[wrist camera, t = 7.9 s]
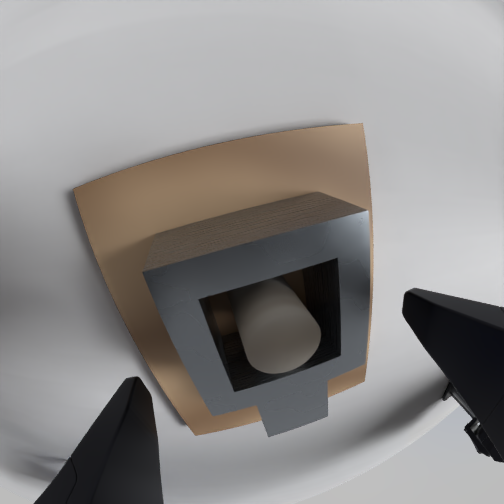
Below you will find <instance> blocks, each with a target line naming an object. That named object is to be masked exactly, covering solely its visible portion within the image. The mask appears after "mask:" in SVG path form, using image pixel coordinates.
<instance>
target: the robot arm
mask: <svg viewBox="0 0 504 504" xmlns="http://www.w3.org/2000/svg"><path fill="white" fill-rule="evenodd" d="M402 314H403V316H404V318H405V320H406V321H407V323H408V324H409V326H410V327H411V329H412V330H413V332H414V333H415V335H416V336H417V338H418V339H419V341H420V342H421V344H422V345H423V347H424V348H425V350H426V351H427V352H428V353H429V355H430V356H431V357H432V358H433V360H434V361H435V362H436V364H437V365H438V366H439V367H440V369H441V370H442V371H443V373H444V374H445V375H446V376H447V378H448V379H449V380H450V384H449V386H448V388H447V390H446V392H445V394H444V396H443V398H442V400H443V401H445V400H447V399H448V398H449V397H451V396H452V397H453V398H454V399H455V400H456V401H457V402H458V403H459V404H460V405H461V406H462V407H463V408H464V409H465V411H466V412H467V413H468V414H469V415H470V416H471V417H472V418H473V419H472V420H471V421H470V422H469V423H468V424H467V425H466V426H465V429H464V431H465V432H466V433H467V434H468V435H469V436H470V438H471V440H472V442H473V444H474V446H475V448H476V450H477V452H478V453H479V454H481V453H483V454H485V455H486V456H488V457H490V456H491V457H492V458H493V459H494V461H498V462H504V307H499V306H495V305H490V304H486V303H481V302H477V301H472V300H468V299H463V298H459V297H454V296H450V295H445V294H441V293H436V292H432V291H427V290H423V289H418V288H412V289H410V290H408V291H406V292H405V294H404V300H403V308H402ZM477 423H480V425H479V426H478V425H477ZM34 504H164V503H163V494H162V485H161V474H160V462H159V446H158V436H157V430H156V424H155V417H154V410H153V403H152V397H151V394H150V392H149V391H148V389H147V388H146V386H145V385H144V383H143V382H142V380H141V379H140V378H139V377H137V376H136V377H130V378H126V379H125V380H124V382H123V383H122V384H121V386H120V387H119V388H118V390H117V391H116V392H115V394H114V395H113V397H112V398H111V399H110V401H109V402H108V404H107V405H106V406H105V408H104V409H103V410H102V412H101V413H100V415H99V416H98V417H97V419H96V420H95V422H94V423H93V425H92V426H91V427H90V429H89V430H88V432H87V433H86V434H85V436H84V437H83V439H82V440H81V442H80V443H79V445H78V446H77V447H76V449H75V450H74V452H73V453H72V455H71V457H69V459H68V460H67V462H66V463H65V465H64V466H63V468H62V469H61V470H60V472H59V473H58V475H57V476H56V477H55V478H54V480H53V481H52V482H51V483H50V485H49V486H48V487H47V488H46V490H45V491H44V492H43V493H42V494H41V496H40V497H39V498H38V499H37V500H36V501H35V503H34Z"/></svg>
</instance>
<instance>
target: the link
mask: <svg viewBox="0 0 504 504" xmlns="http://www.w3.org/2000/svg"><path fill="white" fill-rule="evenodd" d="M300 269H302V272H303V280H304V288H305V296H306V304H307V310H308V311H309V313H310V314H311V315H312V317H313V318H314V320H315V321H316V322H317V324H318V325H319V328H320V331H321V339H320V343H319V346H318V348H317V350H316V351H315V353H314V354H313V355H312V356H311V357H310V359H308V360H307V361H306V362H305V363H304V364H302V365H301V366H299V367H297V368H295V369H293V370H290V371H287V372H283V373H276V374H271V373H265V372H261V371H259V370H257V369H255V368H254V367H253V366H252V365H251V364H250V363H249V361H248V359H247V356H246V353H245V349H244V346H243V343H242V340H241V337H240V334H239V331H237V332H234V333H230V334H227V335H223V336H221V334H220V331H219V328H218V325H217V322H216V319H215V316H214V314H213V311H212V308H211V305H210V302H209V299H208V296H211V295H215V294H218V293H222V292H225V291H229V290H232V289H236V288H239V287H243V286H246V285H250V284H253V283H257V282H260V281H263V280H267V279H270V278H273V277H277V276H280V275H283V274H287V273H290V272H293V271H297V270H300ZM142 273H143V276H144V278H145V281H146V283H147V286H148V288H149V291H150V293H151V295H152V298H153V300H154V302H155V305H156V307H157V309H158V312H159V314H160V316H161V318H162V321H163V323H164V325H165V327H166V329H167V332H168V334H169V336H170V338H171V340H172V342H173V344H174V346H175V348H176V350H177V352H178V354H179V356H180V358H181V360H182V362H183V364H184V366H185V368H186V370H187V372H188V374H189V376H190V377H191V379H192V381H193V383H194V385H195V387H196V388H197V390H198V392H199V394H200V396H201V397H202V399H203V401H204V403H205V404H206V406H207V408H208V409H209V411H210V413H211V414H212V416H217V415H221V414H225V413H229V412H233V411H237V410H241V409H245V408H248V407H252V406H255V405H257V408H258V411H259V413H260V416H261V419H262V421H263V424H264V427H265V429H266V432H267V435H268V437H270V436H274V435H277V434H280V433H283V432H286V431H289V430H292V429H295V428H298V427H301V426H304V425H306V424H309V423H312V422H314V421H317V420H319V419H322V418H324V417H327V416H328V380H330V379H332V378H335V377H337V376H340V375H342V374H344V373H346V372H349V371H351V370H353V369H355V368H358V367H360V366H362V365H364V364H365V363H366V353H367V342H368V328H369V310H370V229H369V211H368V210H366V209H364V208H361V207H359V206H356V205H354V204H351V203H348V202H346V201H343V200H341V199H338V198H335V197H332V196H330V195H327V194H324V193H321V192H319V191H318V192H313V193H309V194H305V195H300V196H296V197H292V198H287V199H283V200H279V201H275V202H271V203H267V204H263V205H258V206H254V207H251V208H247V209H243V210H239V211H235V212H231V213H227V214H223V215H220V216H216V217H212V218H209V219H205V220H201V221H198V222H194V223H191V224H187V225H183V226H180V227H176V228H173V229H170V230H166V231H163V232H159V233H156V234H155V237H154V240H153V242H152V245H151V248H150V251H149V253H148V256H147V259H146V262H145V265H144V268H143V271H142Z"/></svg>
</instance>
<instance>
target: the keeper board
mask: <svg viewBox="0 0 504 504" xmlns="http://www.w3.org/2000/svg"><path fill="white" fill-rule="evenodd" d="M73 191H74V195H75V198H76V202H77V205H78V208H79V212H80V215H81V218H82V221H83V224H84V227H85V230H86V233H87V236H88V238H89V241H90V244H91V247H92V249H93V252H94V255H95V257H96V260H97V262H98V265H99V267H100V270H101V272H102V275H103V277H104V279H105V282H106V284H107V286H108V289H109V291H110V293H111V295H112V297H113V300H114V302H115V304H116V306H117V308H118V310H119V312H120V314H121V316H122V318H123V320H124V322H125V324H126V326H127V328H128V330H129V332H130V334H131V336H132V338H133V340H134V342H135V343H136V345H137V347H138V349H139V351H140V352H141V354H142V356H143V358H144V359H145V361H146V363H147V365H148V366H149V368H150V370H151V371H152V373H153V375H154V376H155V378H156V379H157V381H158V383H159V384H160V386H161V387H162V389H163V391H164V392H165V394H166V395H167V397H168V398H169V400H170V401H171V403H172V404H173V406H174V407H175V408H176V410H177V411H178V413H179V414H180V416H181V417H182V418H183V420H184V421H185V423H186V424H187V425H188V427H189V428H190V429H191V431H192V432H193V433H194V435H195V436H197V435H202V434H207V433H212V432H217V431H222V430H226V429H230V428H235V427H239V426H243V425H246V424H250V423H254V422H258V421H261V420H262V419H261V416H260V413H259V411H258V408H257V405H255V406H252V407H248V408H245V409H241V410H237V411H233V412H229V413H225V414H221V415H217V416H212V414H211V413H210V411H209V409H208V408H207V406H206V404H205V403H204V401H203V399H202V397H201V396H200V394H199V392H198V390H197V388H196V387H195V385H194V383H193V381H192V379H191V377H190V376H189V374H188V372H187V370H186V368H185V366H184V364H183V362H182V360H181V358H180V356H179V354H178V352H177V350H176V348H175V346H174V344H173V342H172V340H171V338H170V336H169V334H168V332H167V329H166V327H165V325H164V323H163V321H162V318H161V316H160V314H159V312H158V309H157V307H156V305H155V302H154V300H153V298H152V295H151V293H150V291H149V288H148V286H147V283H146V281H145V278H144V276H143V273H142V271H143V268H144V265H145V262H146V259H147V256H148V253H149V251H150V248H151V245H152V242H153V240H154V237H155V234H156V233H159V232H163V231H166V230H170V229H173V228H176V227H180V226H183V225H187V224H191V223H194V222H198V221H201V220H205V219H209V218H212V217H216V216H220V215H223V214H227V213H231V212H235V211H239V210H243V209H247V208H251V207H254V206H258V205H263V204H267V203H271V202H275V201H279V200H283V199H287V198H292V197H296V196H300V195H305V194H309V193H313V192H318V191H319V192H321V193H324V194H327V195H330V196H332V197H335V198H338V199H341V200H343V201H346V202H348V203H351V204H354V205H356V206H359V207H361V208H364V209H366V210H368V211H369V229H370V310H369V328H368V342H367V353H366V363H365V364H364V365H362V366H360V367H358V368H355V369H353V370H351V371H349V372H346V373H344V374H342V375H340V376H337V377H335V378H332V379H330V380H328V397H330V396H333V395H335V394H337V393H340V392H342V391H344V390H347V389H349V388H351V387H353V386H356V385H358V384H360V383H362V382H364V381H365V375H366V367H367V359H368V350H369V340H370V329H371V315H372V297H373V220H372V201H371V188H370V176H369V166H368V157H367V149H366V142H365V135H364V128H363V123H359V124H345V125H333V126H323V127H314V128H305V129H298V130H290V131H283V132H277V133H271V134H265V135H259V136H253V137H248V138H243V139H237V140H233V141H228V142H223V143H218V144H214V145H210V146H205V147H201V148H197V149H193V150H189V151H185V152H181V153H178V154H174V155H170V156H167V157H163V158H160V159H156V160H153V161H150V162H147V163H143V164H140V165H137V166H134V167H131V168H128V169H125V170H122V171H119V172H116V173H113V174H110V175H108V176H105V177H102V178H99V179H97V180H94V181H91V182H89V183H86V184H84V185H81V186H79V187H76V188H74V189H73ZM208 299H209V302H210V305H211V308H212V311H213V314H214V316H215V319H216V322H217V325H218V328H219V331H220V334H221V336H223V335H227V334H230V333H234V332H237V331H239V334H240V337H241V340H242V343H243V346H244V349H245V353H246V356H247V359H248V361H249V363H250V364H251V365H252V366H253V367H254V368H255V369H257V370H259V371H261V372H265V373H271V374H276V373H283V372H287V371H290V370H293V369H295V368H297V367H299V366H301V365H302V364H304V363H305V362H306V361H307V360H308V359H310V357H311V356H312V355H313V354H314V353H315V351H316V350H317V348H318V346H319V343H320V339H321V331H320V328H319V325H318V324H317V322H316V321H315V320H314V318H313V317H312V315H311V314H310V313H309V311H308V310H307V304H306V296H305V288H304V280H303V272H302V269H300V270H297V271H293V272H290V273H287V274H283V275H280V276H277V277H273V278H270V279H267V280H263V281H260V282H257V283H253V284H250V285H246V286H243V287H239V288H236V289H232V290H229V291H225V292H222V293H218V294H215V295H211V296H208Z"/></svg>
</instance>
